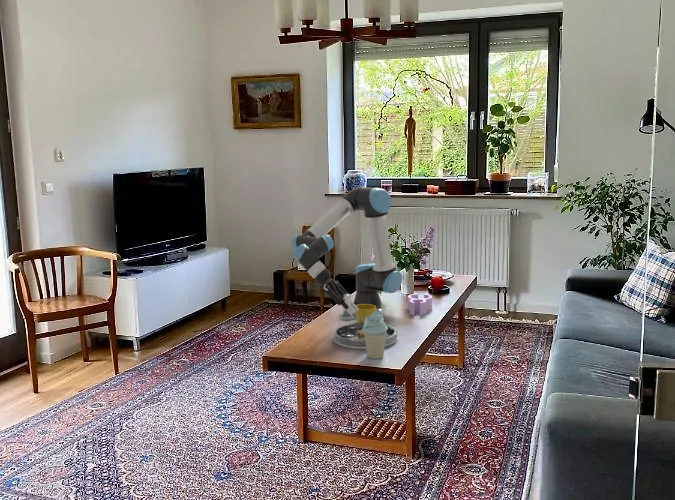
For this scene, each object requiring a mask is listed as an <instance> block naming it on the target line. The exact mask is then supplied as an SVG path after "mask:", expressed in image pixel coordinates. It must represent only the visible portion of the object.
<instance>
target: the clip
mask: <svg viewBox="0 0 675 500" xmlns="http://www.w3.org/2000/svg"><path fill="white" fill-rule="evenodd" d="M407 310H408V311H409V315H410V314H411V315H410V316H412V315H414V316H415V315H416V314H415V312H416V313H419V317H422V316H421V315H424V316H426V315H427V313H428V312H427V311H429V312H431V311H433V296H432V294H431V295H430V293H427V292H426V293H424V294H423V298H419V294H418V293H417V292H414V293H412V294H411V293H410V294H408V296H407ZM430 310H431V311H430ZM425 314H426V315H425Z"/></svg>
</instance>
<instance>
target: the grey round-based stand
mask: <svg viewBox="0 0 675 500" xmlns="http://www.w3.org/2000/svg"><path fill="white" fill-rule="evenodd" d="M343 299H344V301H347V303H348V304H349V305H350V306H351V301H352V294H351V293H348V294H343ZM338 316H339V317H338V319H339V320H340V321H341V322H342V321H343V322H344V321H345V322H351V321H354V320H356V314H355V313H353V314H352V315H350V314H349V313H348V312H347V311H346V310H345V309H344V307H343V306H342V313H341V314H339V315H338Z"/></svg>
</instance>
